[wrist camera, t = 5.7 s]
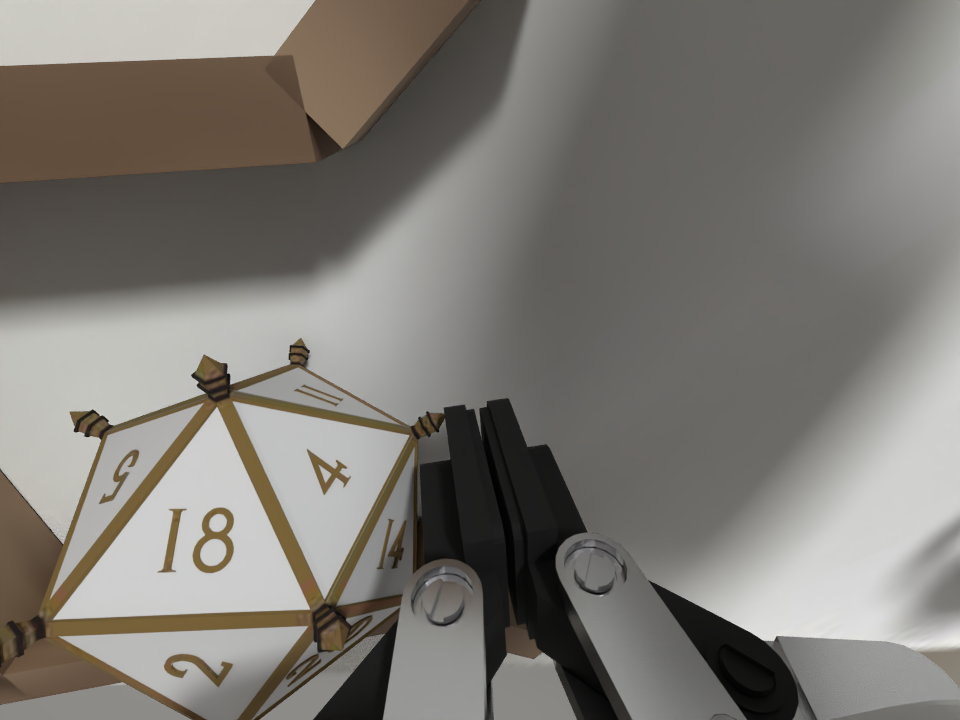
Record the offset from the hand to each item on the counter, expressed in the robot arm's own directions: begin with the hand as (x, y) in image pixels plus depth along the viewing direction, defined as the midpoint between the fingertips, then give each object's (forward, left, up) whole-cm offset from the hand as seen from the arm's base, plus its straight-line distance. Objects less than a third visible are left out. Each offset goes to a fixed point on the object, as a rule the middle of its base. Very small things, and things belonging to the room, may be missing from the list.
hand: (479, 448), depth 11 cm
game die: (+1, -5, -4) cm, 6 cm away
